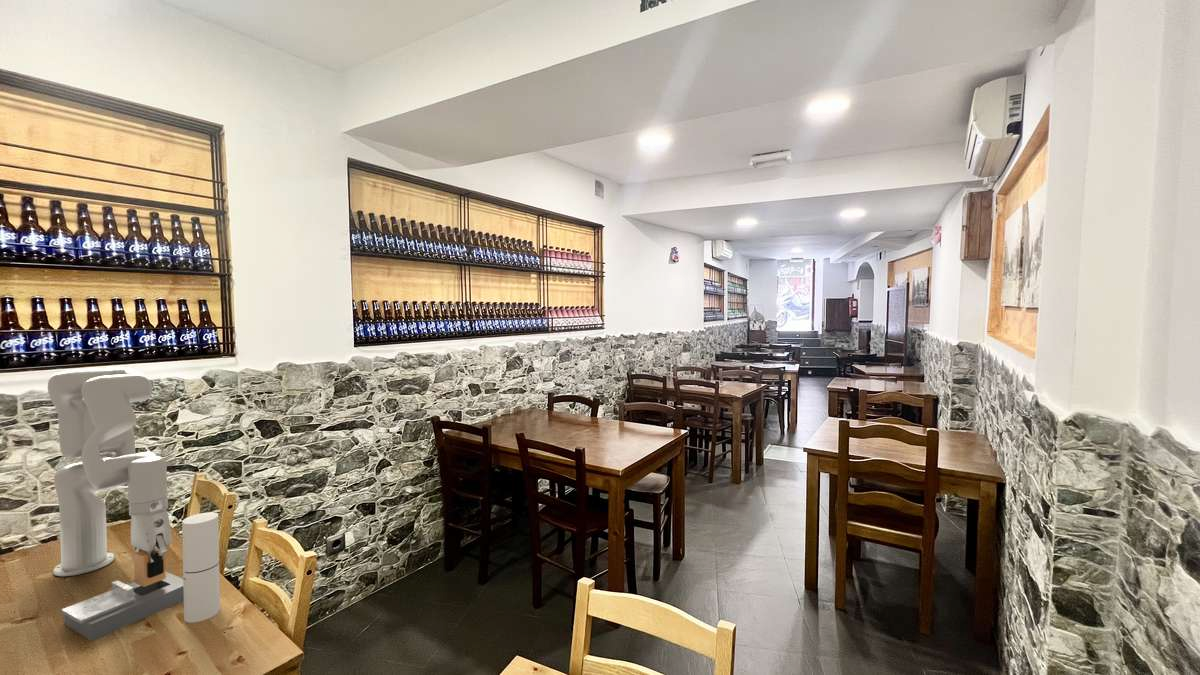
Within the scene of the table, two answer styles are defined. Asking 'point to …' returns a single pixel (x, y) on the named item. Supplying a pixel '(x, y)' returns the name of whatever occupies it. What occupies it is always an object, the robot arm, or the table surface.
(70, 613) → the panel
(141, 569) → the plug peg
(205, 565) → the cylindrical container
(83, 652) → the table surface
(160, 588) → the socket block
